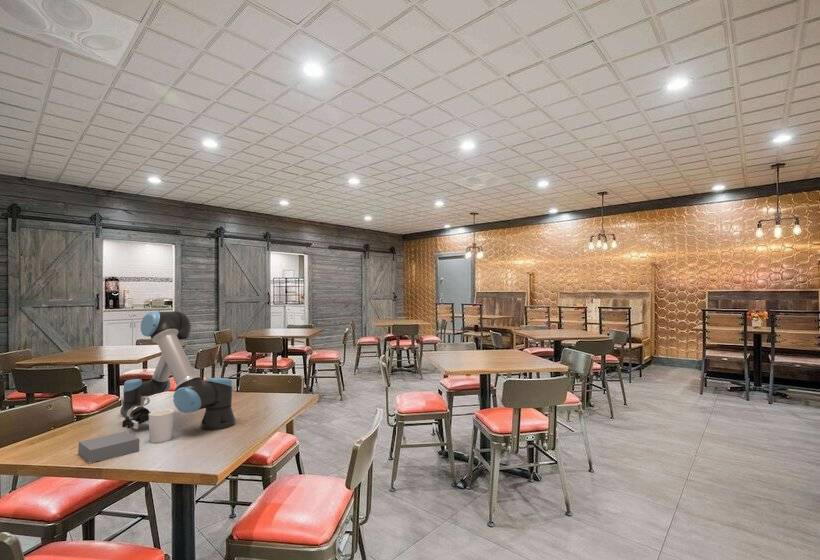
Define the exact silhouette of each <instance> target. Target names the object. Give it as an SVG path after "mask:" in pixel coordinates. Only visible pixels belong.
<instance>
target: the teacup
mask: <svg viewBox="0 0 820 560" xmlns="http://www.w3.org/2000/svg"><path fill="white" fill-rule="evenodd" d="M119 399H120V400H121V401H120V402H121V407H122V406H123V396H121V397H120V398H119ZM146 400H147V401H146ZM145 401H146V403H145ZM150 401H151V399H150V397H149V396H144V397H142V398H141V406H142V407H145V406H147V405H149V404H150V403H151V402H150Z"/></svg>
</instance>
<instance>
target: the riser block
mask: <svg viewBox="0 0 820 560" xmlns="http://www.w3.org/2000/svg"><path fill="white" fill-rule="evenodd" d="M77 450H78V453H77V455H78V454H79V455H78V456H80V457H81V456H82V457H83V458H84V459H83V458H82V457H81V458H82V459H83V460H84V461H86V460H87V461H88V462H90V463H91V462H95V463H97V462H96V461H99V462H101V461H100V460H103V461H106V460H105V459H107V460H110V459H109V458H111V459H113V457H114V458H119V457H122V456H126V455H129V454H133V453H137V452H139V451H140V437H137V436H136V435H134V434H132V433H130V432H128V431H121V432H116V433H113V434H112V433H111V434H107V435H103V436H98V437H94V438H89V439H84V440H80V441H78V449H77ZM87 461H86V462H87ZM88 462H87V463H88ZM90 463H89V464H90ZM91 464H92V463H91Z"/></svg>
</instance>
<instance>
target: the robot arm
mask: <svg viewBox="0 0 820 560" xmlns="http://www.w3.org/2000/svg"><path fill="white" fill-rule="evenodd" d="M191 325H192V324H191V320H190V318H189V317H188V316H187V315H186V313H184V312H182V311H176V310H174V311H150V312H147V313H146V314H145V315H144V316H143V317H142V320H141V323H140V332H141V334H142V335H143V336H144V337H148V338H150V339H151V341H152V342H153V343H155V344H157V345H158V347H159V350H160V352H161V355H160V358H159V360H158V362H157V365H156V367H155V369H154V372H153V374H152V377H151V378H150V379H149V380H147V381H143V380H142V379H141V378H140V379H139V378H135V379H134V378H133V379H127V380H126V381H124V384H123V388H122V389H123V396H122V397H123V406H122V405H121V407H120V410H119V413H120V416H121V417H123V418H124V420H122V428H125V427H127V429H131V428H133V429H135V430H138V429H139V425H141V424H143V423H146V422H148V421H149V415H148V414H149V413H151V412H152V411H150V410H149V409H148V408H146V407H145V406H143V407H142V406H141V398H142V397H144V396H146V397H149V396H152V395H156V394H162V393H165V392H167V391H169V390H170V388H171V380H170V379H169V378H170V375H171V376H172V377H173V379H174V381H175V385H176V386H175V388H174V391H175V392H174V393H173V395H172V396H173V400H172V401H173V405H174V407H175V409H177V410H178V411H180V412H181V413H184V414H188V413H189V414H190V413H194V412H197V411H199V410H203V409H205V411H204V414H203V417H202V420H201V422H200V428H201V430H202V429H203V430H209V431H210V430H212V431H213V430H221V429H225V428H226V427H227V428H230V427H232V426H234V425H235V423H236V417H235V414H234V412H233V409H232V400H233V399H232V398H233V397H232V396H233V383H232V379H230V378H227V377H226V378H225V377H209V378H207V379H206V380H205V382H204V381H203V378H202V377H201V376H198V375H196V373H195V371H194V368H193V365H191V362H190V361H189V359H188V358H189V357H188V356H187V354H186V351H184V348H183V345H184V342H185V341H186V340H187V339H188V338H189V336H190V334H191V331H192V330H191V328H192V327H191ZM229 426H230V427H229ZM227 428H226V429H227Z"/></svg>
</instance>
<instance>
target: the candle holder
mask: <svg viewBox="0 0 820 560" xmlns="http://www.w3.org/2000/svg"><path fill="white" fill-rule="evenodd" d="M150 412H151V413H149V414H148V415H149V420H148V430H149V431H148V434H149V436H148V437H149V442H150V443H153V444H160V443H164V442H167V441H170V440H172V439H173V429H174V419H175V418H174V417H175V409H171V408H169V409H167V408H166V409H159V410H154V411H150Z"/></svg>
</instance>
